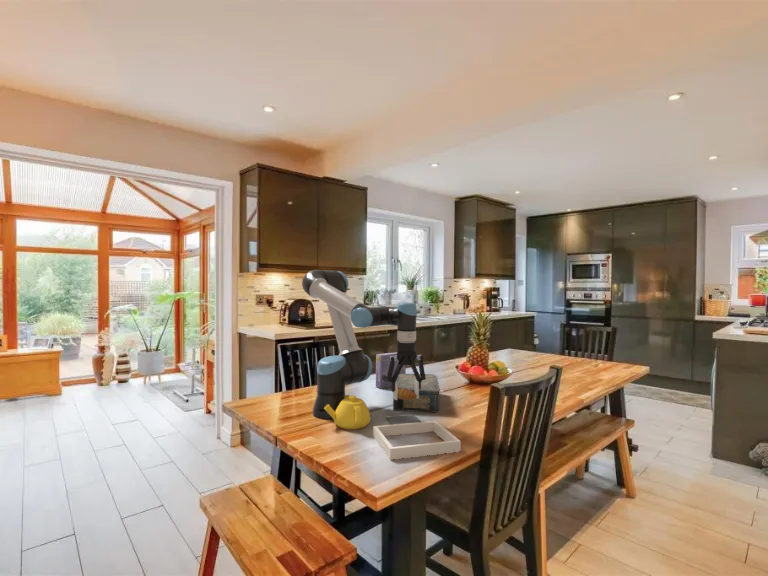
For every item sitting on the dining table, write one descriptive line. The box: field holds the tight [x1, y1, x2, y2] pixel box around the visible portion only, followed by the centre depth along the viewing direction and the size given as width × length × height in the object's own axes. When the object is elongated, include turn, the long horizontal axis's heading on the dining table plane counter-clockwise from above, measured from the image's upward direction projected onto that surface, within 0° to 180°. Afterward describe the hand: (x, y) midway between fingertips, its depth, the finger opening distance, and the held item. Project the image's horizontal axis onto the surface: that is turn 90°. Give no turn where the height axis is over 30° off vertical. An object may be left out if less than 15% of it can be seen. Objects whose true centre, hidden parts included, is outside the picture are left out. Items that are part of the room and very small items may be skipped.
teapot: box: [324, 394, 371, 430], centre depth 155 cm, size 20×18×11 cm
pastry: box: [397, 387, 417, 400], centre depth 160 cm, size 9×7×4 cm
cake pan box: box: [375, 351, 407, 389], centre depth 216 cm, size 19×5×18 cm, turn 130°
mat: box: [386, 414, 423, 425], centre depth 159 cm, size 12×12×1 cm
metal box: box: [392, 373, 441, 413], centre depth 188 cm, size 21×32×10 cm, turn 175°
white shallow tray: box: [372, 420, 462, 461], centre depth 138 cm, size 24×20×4 cm
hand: (406, 398), depth 159 cm, fingers closed on pastry, 8 cm apart
